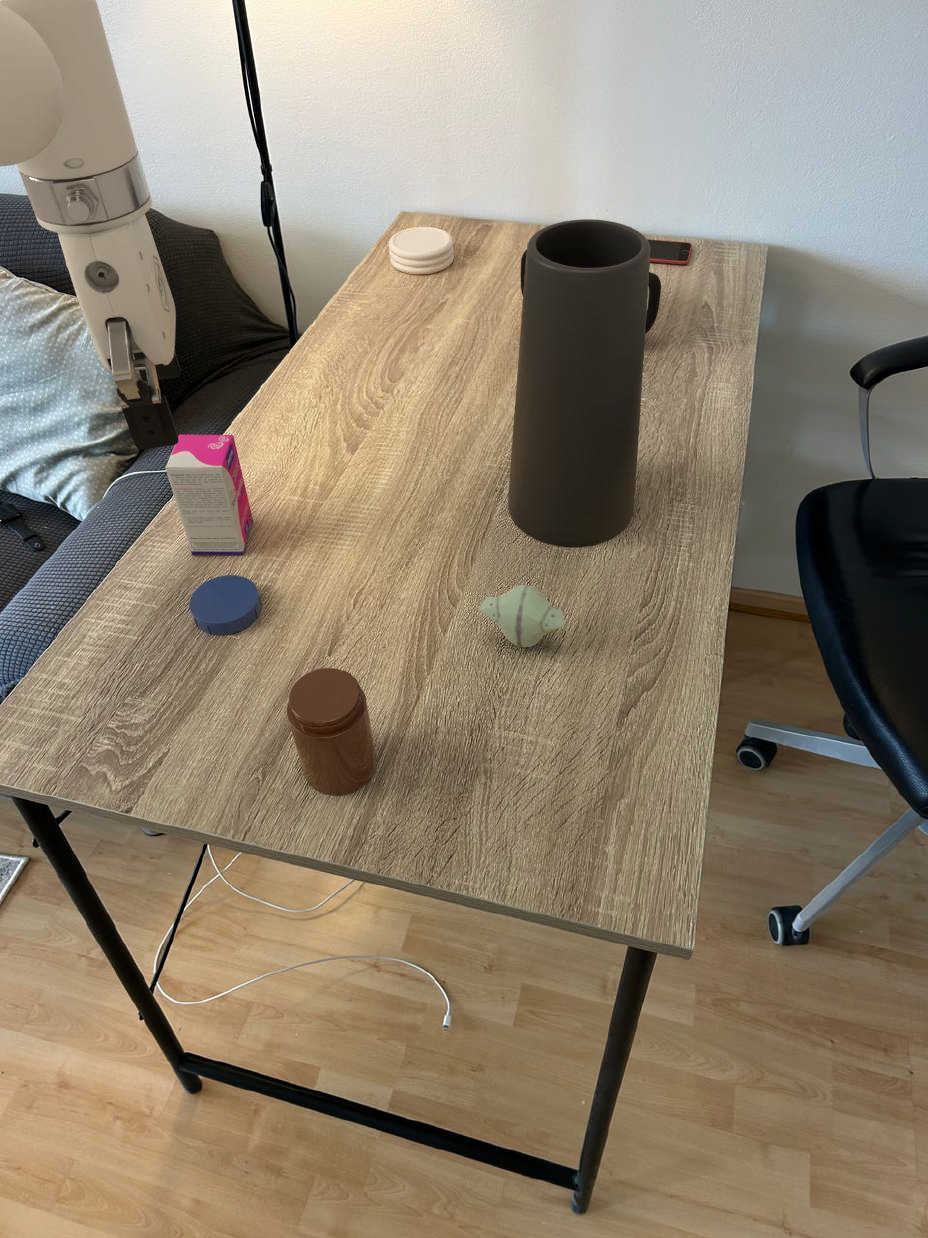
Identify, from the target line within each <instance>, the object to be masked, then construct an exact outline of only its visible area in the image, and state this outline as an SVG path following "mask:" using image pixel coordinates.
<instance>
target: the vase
mask: <svg viewBox="0 0 928 1238" xmlns="http://www.w3.org/2000/svg"><path fill="white" fill-rule="evenodd" d="M647 239H648V238H646V236H645V235H644V234H643V233H642V232H640V231H638V230H637V229H635V228H633V227H632V226H628V225H626V224H623V223H619V222H616V221H611V220H605V219H593V218H588V219H587V218H586V219H584V218H583V219H570V220H565V221H560V222H556V223H553V224H549V225H547V226H544V227H543V228H541V229H539V230H538V231H536V232H535V233H534V234H533V235H532V236H531V237H530V238H529V240H528V241H527V245H526V249H527V254H526V262H525V276H524V289H523V295H522V304H521V306H522V308H521V316H520V317H521V320H520V321H521V322H520V332H519V333H520V334H519V348H518V359H517V372H516V384H515V385H516V386H515V388H516V389H515V398H514V399H515V401H514V414H513V426H512V439H511V440H512V441H511V442H512V443H511V453H510V467H509V468H510V469H509V482H508V495H507V496H508V497H507V508H508V512H509V516H510V517H511V519H512V521H513V523H514V524H515V525H516V527H518V529H520V530H521V531H522V532H523V533H525V534H526V535H528V536H529V537H531V538H533V539H535V540H536V541H540V542H542V543H545V544H549V545H553V546H559V547H569V548H570V547H571V548H574V547H575V548H576V547H588V546H589V547H590V546H593V545H598V544H600V543H605V542H606V541H609V540H611V539H612V538H615V537H616V536H618V535H619V534H621V533H622V532H623V531H624V530H625V529H626V528H627V527H628V525H629V524H630V522H631V521H632V518H633V515H634V511H635V510H634V509H635V501H636V500H635V497H636V484H637V468H638V456H639V438H640V424H641V406H642V391H643V379H644V378H643V376H644V375H643V373H644V360H645V346H646V334H645V331H646V312H647V298H648V283H649V272H650V267H651V262H650V244H649V242H648V240H647Z"/></svg>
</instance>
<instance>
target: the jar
mask: <svg viewBox="0 0 928 1238" xmlns="http://www.w3.org/2000/svg"><path fill="white" fill-rule="evenodd" d="M286 716H287V721H288V724H289V727H290V730H291V734H292V738H293V741H294V745H295V748H296V751H297V754H298V755H297V756H298V758H299V762H300V766H301V768H302V772H303V776H304V778H305V780H306V782H307V784H308V785H309V786H310V787H311V788H312V789H313V790H315V791H317V792H318V793H322V794H324V795H327V796H344V795H349V794H352V793H354V792H356V791H358V790H360V789H362V788H363V787H364V786H365V785H367V783H369V782H370V781H371V779H372V778H373V775H374V774H375V772H376V769H377V765H378V764H377V763H378V757H377V751H376V747H375V740H374V735H373V729H372V723H371V719H370V714H369V707H368V703H367V697H366V694H365V691H364V690H363V688H362V687H361V685H360V684H359V682H358V680H357V678H355V676H353V675H352V673H351V672H348V671H346V670H344V669H339V668H333V667H324V668H323V667H322V668H318V669H314V670H312V671H309V672H307V673H305V674H303V675H302V676H300V678H298V679H297V680H296V681H295V683H294V684H293V685H292V687H291V689H290V692H289V694H288V702H287V706H286Z"/></svg>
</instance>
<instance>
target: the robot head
mask: <svg viewBox="0 0 928 1238" xmlns="http://www.w3.org/2000/svg"><path fill="white" fill-rule="evenodd" d="M477 611H478V612H480V614H482V615H484V616H485V617H486V618H488V619H490V620H491V621H493V622H494V623H495V624H496V625H497V626H498V627H499V628H500V630H501V631H502V633H503V635H504V637H505V639H506V640H507V641H509V643H511V644H512V645H515V646H518V647H520V648H532V647H533V646H535V645H536V644H538V643H539V642H540V641H541V640H542V638H543V637H544V636H545V635H547V634H548V633H550V632H553V631H555V630H559V629H562V628H565V621H564V620H565V619H564V612H563V610H560V609H559V608H555V607H554V606H553V605H552V604H551V603H550V601H549V600H548V599H547V598H546V596H544V595H543V594H542V592H541V591H540V590H539V588H537V587H535V586H532V585H529V584H519V585H517V586H515V587H513V588H511V589H509V590H508V591H506V592H504V593H502V594H501V595H499V596H486V597H485V599H483V602H481V604H480V606H479V607H478V608H477Z"/></svg>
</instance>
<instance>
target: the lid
mask: <svg viewBox="0 0 928 1238" xmlns="http://www.w3.org/2000/svg"><path fill="white" fill-rule="evenodd" d="M262 606H263V601H262V598H261V596H260V593H259V589H258V587H257V585H256V584H255V583H254V582H253V581H252V580H251V579H249V578H247V577H245V576H242V575H235V574H227V575H220V576H216V577H213V578H211V579H208V580H206V581H205V582H203V583H202V584H200V585H199V586H198V587H197V588H196V589H195V590H194V591H193V592H192V595H191V596H190V599H189V611H190V613H191V616H192V619H193V622H194V623H195V624H194V625H195V626H196V628H198V629H200V631H202V632H204V633H206V634H209V635H214V636H227V635H233V634H236V633H239V632H241V631H243V630H246V629H247V628H249V627H250V626H251V625H252V624H254V623H255V621H256V620H257V619H258V618H259V616H260V614H261V612H262Z"/></svg>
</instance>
